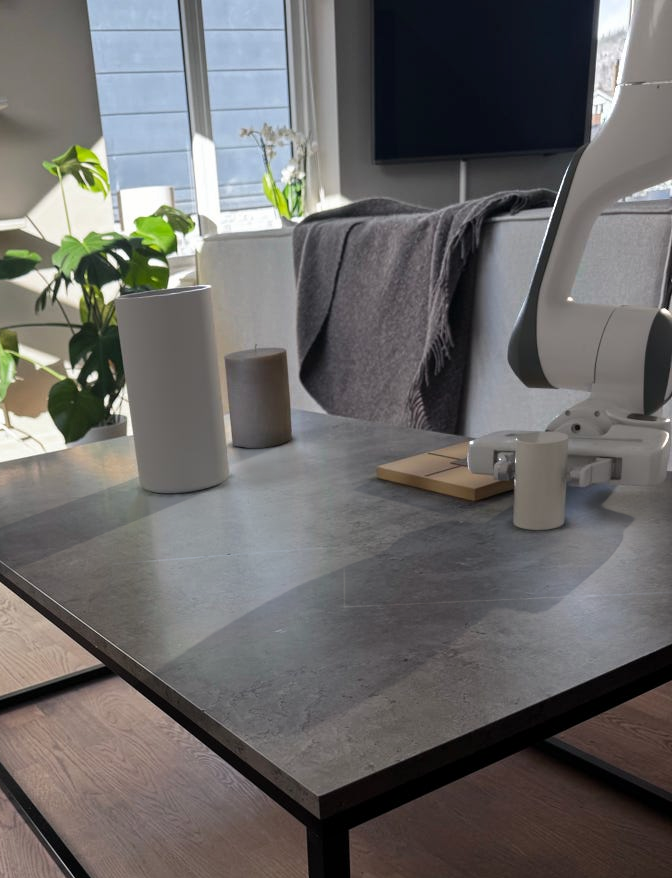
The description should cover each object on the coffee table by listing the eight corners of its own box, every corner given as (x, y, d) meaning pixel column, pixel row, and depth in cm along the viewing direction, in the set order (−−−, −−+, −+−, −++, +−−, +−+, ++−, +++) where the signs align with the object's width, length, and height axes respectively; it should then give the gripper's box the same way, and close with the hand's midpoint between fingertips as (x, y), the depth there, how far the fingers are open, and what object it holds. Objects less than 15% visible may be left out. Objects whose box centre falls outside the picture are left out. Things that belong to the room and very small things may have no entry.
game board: (576, 469, 112) (576, 456, 111) (474, 501, 105) (474, 487, 104) (472, 450, 126) (472, 439, 125) (376, 477, 118) (376, 465, 118)
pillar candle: (292, 432, 149) (286, 336, 143) (293, 445, 140) (286, 344, 134) (233, 437, 150) (224, 343, 144) (230, 451, 142) (220, 351, 136)
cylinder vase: (142, 499, 121) (114, 301, 111) (138, 477, 133) (113, 295, 123) (235, 487, 122) (216, 288, 112) (223, 466, 133) (205, 283, 123)
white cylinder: (558, 514, 97) (563, 429, 94) (568, 528, 93) (574, 440, 89) (509, 517, 98) (512, 433, 95) (517, 531, 94) (520, 444, 90)
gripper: (496, 412, 107) (442, 440, 98) (687, 418, 94) (645, 450, 85) (495, 465, 110) (442, 497, 101) (681, 478, 97) (640, 516, 88)
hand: (537, 476), depth 93 cm, fingers open, 6 cm apart
